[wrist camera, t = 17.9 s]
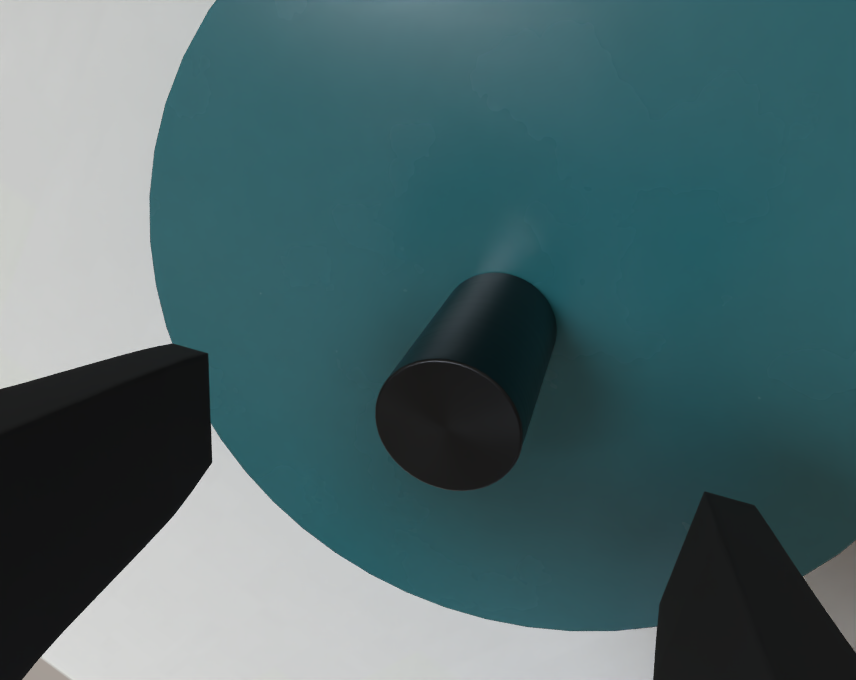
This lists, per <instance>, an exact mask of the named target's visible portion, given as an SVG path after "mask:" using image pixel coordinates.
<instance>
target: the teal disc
mask: <svg viewBox="0 0 856 680" xmlns="http://www.w3.org/2000/svg"><path fill="white" fill-rule="evenodd" d="M150 243H151V251H152V258H153V266H154V273H155V281H156V287H157V291H158V295H159V299H160V303H161V307H162V311H163V315H164V319H165V323H166V327H167V330H168V333H169V335H170V338H171V341H172V344H177V345H180V346H184V347H187V348H191V349H195V350H198V351H202V352H205V353H208V359H209V388H210V416H211V424H212V426H213V427H214V429H215V430H216V432H217V434H218V435H219V437H220V439H221V440H222V441H223V443H224V444H225V445H226V447H227V448H228V449H229V450H230V452H231V453H232V454H233V456H234V457H235V458H236V460H237V461H238V462H239V464H240V465H241V466H242V468H243V469H244V470H245V471H246V473H247V474H248V475H249V476H250V477H251V478H252V479H253V480H254V481H255V482H256V483H257V484H258V486H259V487H260V488H261V489H262V490H263V491H264V492H265V493H266V494H267V495H268V496H269V497H270V499H271V500H272V501H273V502H274V503H275V504H277V505H278V506H279V507H280V508H281V509H282V510H283V511H284V512H285V513H287V514H288V515H289V516H290V517H291V518H292V519H293V520H294V521H295V522H297V523H298V524H299V525H300V526H301V527H302V528H303V529H305V530H306V531H307V532H309V533H310V534H311V535H313V536H314V537H315V538H317V539H318V540H319V541H321V542H322V543H323V544H325V545H326V546H327V547H329V548H330V549H331V550H333V551H334V552H335V553H337V554H339V555H340V556H342V557H343V558H345V559H347V560H348V561H350V562H351V563H353V564H355V565H356V566H358V567H360V568H361V569H363V570H364V571H366V572H368V573H369V574H371V575H373V576H375V577H377V578H379V579H381V580H383V581H385V582H387V583H389V584H391V585H393V586H395V587H397V588H399V589H401V590H403V591H405V592H407V593H410V594H413V595H415V596H418V597H420V598H423V599H425V600H428V601H430V602H433V603H436V604H438V605H441V606H443V607H446V608H449V609H453V610H456V611H460V612H463V613H467V614H470V615H474V616H477V617H481V618H484V619H488V620H494V621H499V622H504V623H509V624H515V625H520V626H525V627H533V628H544V629H554V630H565V631H619V630H629V629H638V628H648V627H657V625H658V613H659V603H660V601H661V598H662V596H663V593H664V591H665V588H666V586H667V583H668V581H669V578H670V576H671V573H672V571H673V568H674V566H675V563H676V561H677V558H678V556H679V553H680V551H681V548H682V546H683V543H684V541H685V538H686V536H687V533H688V531H689V528H690V526H691V523H692V521H693V518H694V516H695V513H696V511H697V508H698V506H699V503H700V501H701V498H702V496H703V493H704V491H705V492H709V493H712V494H716V495H720V496H723V497H727V498H730V499H734V500H738V501H741V502H745V503H748V504H752V505H755V506H756V508H757V509H758V511H759V512H760V514H761V515H762V516H763V518H764V519H765V521H766V522H767V524H768V525H769V527H770V528H771V530H772V531H773V533H774V534H775V536H776V537H777V539H778V540H779V542H780V544H781V545H782V547H783V548H784V550H785V551H786V553H787V554H788V556H789V557H790V559H791V560H792V562H793V563H794V565H795V566H796V568H797V569H798V571H799V572H800V574H801V575H802V577H803V576H804V575H806V574H808V573H809V572H811V571H812V570H814V569H816V568H817V567H819V566H820V565H822V564H824V563H825V562H827V561H829V560H830V559H832V558H833V557H835V556H837V555H838V554H839V553H841V552H842V551H843V550H844V549H846V548H847V547H848V546H849V545H851V544H852V543H853V542H854V541H855V540H856V0H216V1H215V3H214V4H213V5H212V7H211V8H210V9H209V11H208V13H207V15H206V16H205V18H204V20H203V22H202V24H201V25H200V27H199V29H198V31H197V33H196V35H195V36H194V38H193V40H192V42H191V44H190V45H189V47H188V49H187V51H186V53H185V55H184V56H183V59H182V62H181V64H180V67H179V70H178V72H177V75H176V77H175V80H174V83H173V85H172V88H171V91H170V93H169V96H168V98H167V101H166V104H165V108H164V112H163V116H162V121H161V125H160V129H159V133H158V138H157V142H156V146H155V150H154V160H153V169H152V179H151V188H150Z"/></svg>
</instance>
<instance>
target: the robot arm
mask: <svg viewBox="0 0 856 680" xmlns="http://www.w3.org/2000/svg"><path fill="white" fill-rule="evenodd" d="M211 463H212V445H211V416H210V388H209V359H208V353H205V352H202V351H198V350H195V349H191V348H187V347H184V346H180V345H177V344H168V345H163V346H157V347H153V348H148V349H144V350H140V351H136V352H132V353H129V354H125V355H121V356H117V357H114V358H110V359H107V360H103V361H100V362H96V363H92V364H89V365H85V366H82V367H78V368H75V369H71V370H68V371H64V372H61V373H57V374H54V375H50V376H47V377H43V378H40V379H36V380H33V381H29V382H26V383H22V384H18V385H15V386H11V387H7V388H3V389H0V680H22V679H23V678H24V677H25V675H26V674H27V673H28V671H29V670H30V669H31V668H32V667H33V665H34V664H35V663H36V662H37V660H38V659H39V658H40V657H41V656H42V655H43V654H44V653H45V651H46V650H47V649H48V648H49V647H50V646H51V645H52V644H53V642H54V641H55V640H56V639H57V638H58V637H59V636H60V635H61V633H62V632H63V631H64V630H65V629H66V628H67V627H68V626H69V625H70V624H71V623H72V622H73V621H74V620H75V619H76V618H77V617H78V616H79V615H80V614H81V613H82V612H83V611H84V609H85V608H86V607H87V606H88V605H89V604H90V603H91V602H92V601H93V600H94V599H95V598H96V597H97V596H98V595H99V594H100V593H101V592H102V591H103V590H104V589H105V588H106V587H107V586H108V584H109V583H110V582H111V581H112V580H113V579H114V578H115V577H116V576H117V575H118V574H119V573H120V572H121V571H122V570H123V569H124V568H125V567H126V566H127V565H128V564H129V563H130V562H131V561H132V560H133V558H134V557H135V556H136V555H137V554H138V553H139V552H140V551H141V550H142V549H143V548H144V547H145V546H146V545H147V544H148V543H149V542H150V540H151V539H152V538H153V537H154V536H155V535H156V534H157V533H158V532H159V531H160V530H161V529H162V528H163V527H164V526H165V524H166V523H167V522H168V521H169V520H170V519H171V518H172V517H173V516H174V514H175V513H176V512H177V510H178V509H179V508H180V507H181V505H182V504H183V503H184V501H185V500H186V499H187V497H188V496H189V495H190V493H191V492H192V491H193V489H194V488H195V486H196V485H197V483H198V482H199V480H200V479H201V478H202V476H203V475H204V473H205V472H206V470H207V469H208V468H209V466H210V465H211ZM653 680H856V653H855V651H854V650H853V648H852V647H851V646H850V644H849V643H848V642H847V640H846V639H845V637H844V636H843V635H842V633H841V632H840V630H839V629H838V627H837V626H836V625H835V623H834V622H833V620H832V619H831V618H830V616H829V615H828V613H827V612H826V610H825V609H824V608H823V606H822V605H821V603H820V602H819V600H818V599H817V597H816V596H815V594H814V593H813V591H812V590H811V589H810V587H809V586H808V584H807V583H806V581H805V580H804V578H803V577H802V575H801V574H800V572H799V571H798V569H797V568H796V566H795V565H794V563H793V562H792V560H791V559H790V557H789V556H788V554H787V553H786V551H785V550H784V548H783V547H782V545H781V544H780V542H779V540H778V539H777V537H776V536H775V534H774V533H773V531H772V530H771V528H770V527H769V525H768V524H767V522H766V521H765V519H764V518H763V516H762V515H761V514H760V512H759V511H758V509H757V508H756V506H755V505H752V504H748V503H745V502H741V501H738V500H734V499H730V498H727V497H723V496H720V495H716V494H712V493H709V492H705V491H704V493H703V496H702V498H701V501H700V503H699V506H698V508H697V511H696V513H695V516H694V518H693V521H692V523H691V526H690V528H689V531H688V533H687V536H686V538H685V541H684V543H683V546H682V548H681V551H680V553H679V556H678V558H677V561H676V563H675V566H674V568H673V571H672V573H671V576H670V578H669V581H668V583H667V586H666V588H665V591H664V593H663V596H662V598H661V601H660V603H659V613H658V625H657V636H656V648H655V663H654V677H653Z"/></svg>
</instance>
